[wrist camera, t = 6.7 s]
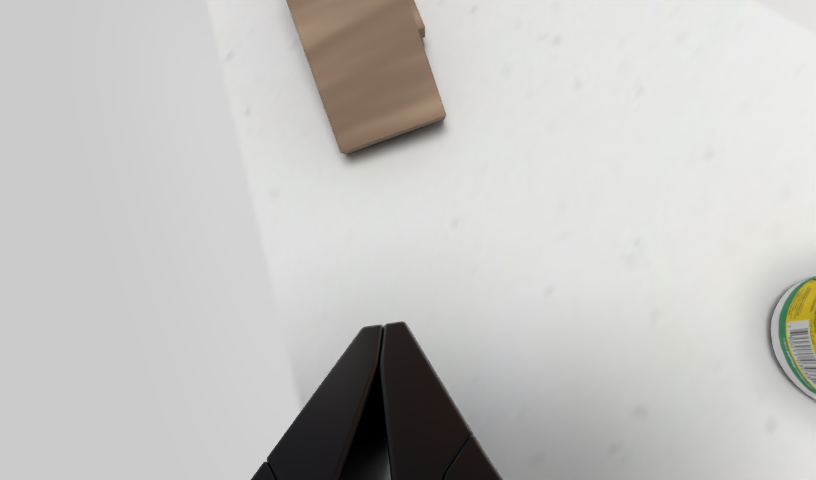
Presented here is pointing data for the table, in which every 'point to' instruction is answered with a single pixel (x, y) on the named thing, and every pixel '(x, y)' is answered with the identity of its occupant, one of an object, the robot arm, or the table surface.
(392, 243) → the table surface
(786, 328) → the supplement bottle
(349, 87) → the domino
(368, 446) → the robot arm
